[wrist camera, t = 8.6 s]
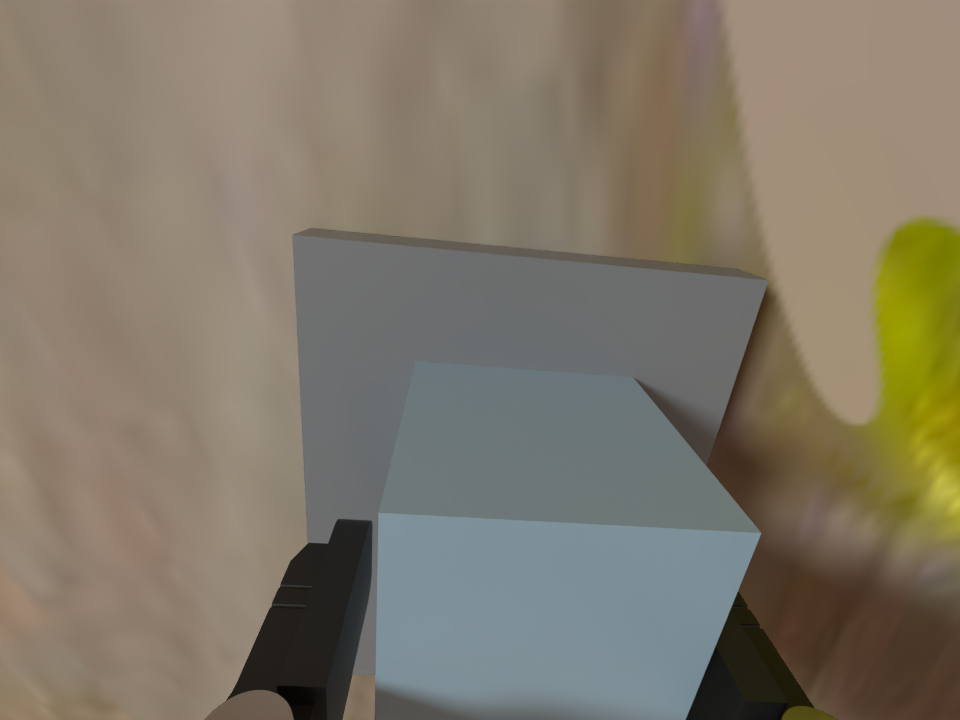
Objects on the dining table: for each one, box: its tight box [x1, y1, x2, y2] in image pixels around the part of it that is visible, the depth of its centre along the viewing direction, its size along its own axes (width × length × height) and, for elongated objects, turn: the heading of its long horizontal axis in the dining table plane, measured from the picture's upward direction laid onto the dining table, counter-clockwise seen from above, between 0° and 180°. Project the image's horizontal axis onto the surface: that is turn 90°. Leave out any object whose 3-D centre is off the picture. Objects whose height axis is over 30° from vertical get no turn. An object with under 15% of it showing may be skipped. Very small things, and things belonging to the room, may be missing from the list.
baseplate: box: [293, 228, 769, 675], centre depth 13 cm, size 10×13×1 cm
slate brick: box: [375, 361, 761, 720], centre depth 10 cm, size 5×8×5 cm, turn 175°
